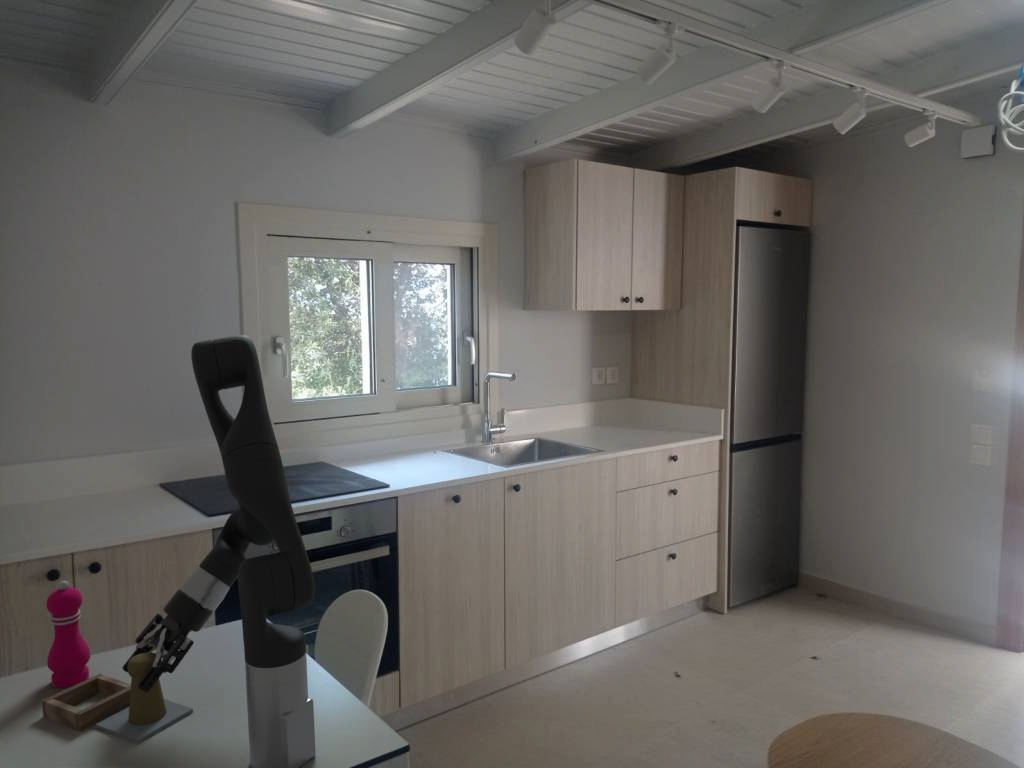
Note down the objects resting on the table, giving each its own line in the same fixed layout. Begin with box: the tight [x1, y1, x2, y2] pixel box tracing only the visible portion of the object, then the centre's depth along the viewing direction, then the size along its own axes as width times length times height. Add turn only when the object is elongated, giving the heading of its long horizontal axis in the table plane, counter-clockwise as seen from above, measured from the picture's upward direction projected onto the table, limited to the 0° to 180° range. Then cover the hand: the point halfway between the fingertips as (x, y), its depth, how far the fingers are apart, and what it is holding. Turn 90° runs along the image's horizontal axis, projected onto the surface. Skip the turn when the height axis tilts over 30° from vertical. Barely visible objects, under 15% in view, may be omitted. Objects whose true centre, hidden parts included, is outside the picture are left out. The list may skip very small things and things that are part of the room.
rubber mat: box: [95, 698, 194, 745], centre depth 132 cm, size 11×11×1 cm
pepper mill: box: [45, 580, 91, 689], centre depth 145 cm, size 7×7×20 cm
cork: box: [127, 652, 167, 725], centre depth 131 cm, size 6×6×11 cm
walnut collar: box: [41, 673, 131, 732], centre depth 135 cm, size 11×11×3 cm
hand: (134, 680), depth 130 cm, fingers open, 8 cm apart
